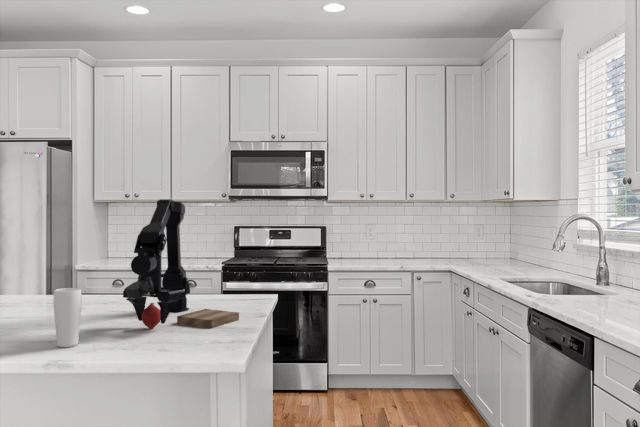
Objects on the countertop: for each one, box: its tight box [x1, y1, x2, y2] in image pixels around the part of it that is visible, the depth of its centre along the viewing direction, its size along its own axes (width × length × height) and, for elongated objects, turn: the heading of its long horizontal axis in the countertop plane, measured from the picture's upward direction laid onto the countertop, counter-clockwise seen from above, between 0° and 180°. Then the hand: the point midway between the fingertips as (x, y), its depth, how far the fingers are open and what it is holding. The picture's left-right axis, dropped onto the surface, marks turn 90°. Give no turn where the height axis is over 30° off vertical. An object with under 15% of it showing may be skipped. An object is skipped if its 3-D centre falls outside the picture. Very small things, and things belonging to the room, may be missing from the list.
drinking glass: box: [52, 287, 83, 349], centre depth 137 cm, size 7×7×15 cm
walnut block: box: [176, 308, 240, 329], centre depth 167 cm, size 14×14×3 cm
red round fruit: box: [141, 301, 161, 330], centre depth 157 cm, size 6×6×8 cm
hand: (151, 322), depth 157 cm, fingers open, 9 cm apart
